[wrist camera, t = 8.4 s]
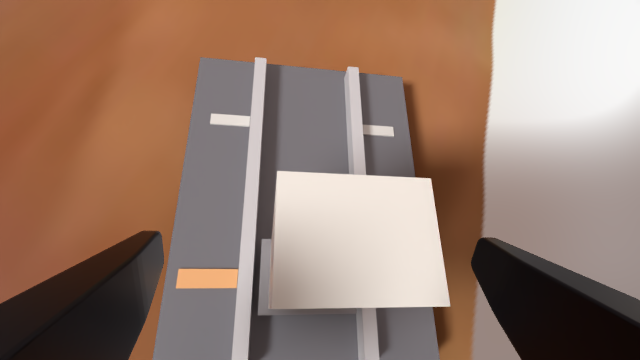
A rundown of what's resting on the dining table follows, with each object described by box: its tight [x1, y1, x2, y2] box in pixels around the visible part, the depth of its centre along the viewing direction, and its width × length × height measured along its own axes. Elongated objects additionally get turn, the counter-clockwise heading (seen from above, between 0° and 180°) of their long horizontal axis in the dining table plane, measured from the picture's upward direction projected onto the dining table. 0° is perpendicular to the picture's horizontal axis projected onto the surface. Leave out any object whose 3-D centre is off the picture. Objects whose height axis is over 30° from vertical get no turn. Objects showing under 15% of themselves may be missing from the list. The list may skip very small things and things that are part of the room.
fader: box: [258, 171, 450, 315], centre depth 10 cm, size 3×4×9 cm
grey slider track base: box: [153, 57, 440, 360], centre depth 16 cm, size 16×12×3 cm
